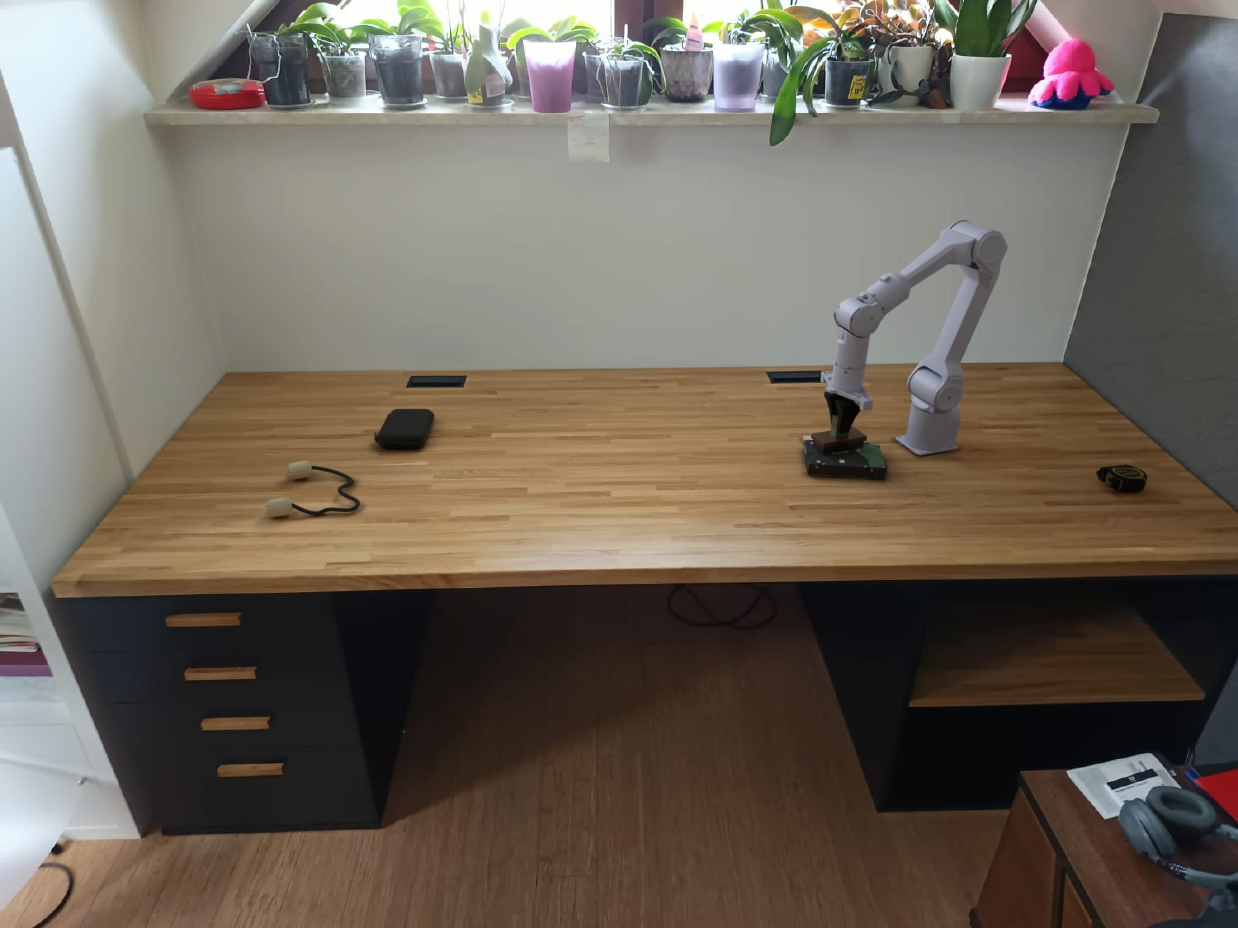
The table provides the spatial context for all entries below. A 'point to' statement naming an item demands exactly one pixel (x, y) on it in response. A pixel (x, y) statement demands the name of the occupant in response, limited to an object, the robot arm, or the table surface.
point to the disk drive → (846, 462)
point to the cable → (301, 471)
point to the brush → (837, 439)
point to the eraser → (807, 437)
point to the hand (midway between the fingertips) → (840, 429)
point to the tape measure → (1123, 478)
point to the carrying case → (405, 428)
